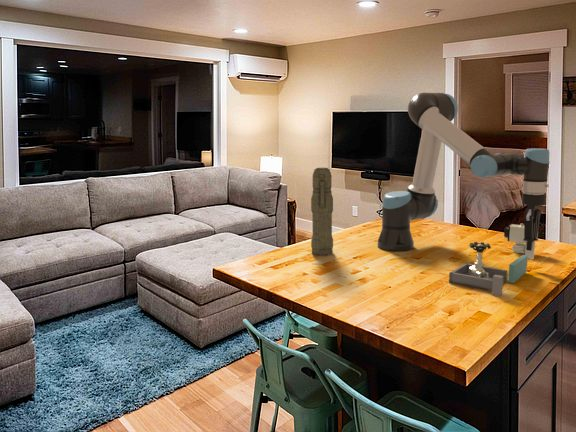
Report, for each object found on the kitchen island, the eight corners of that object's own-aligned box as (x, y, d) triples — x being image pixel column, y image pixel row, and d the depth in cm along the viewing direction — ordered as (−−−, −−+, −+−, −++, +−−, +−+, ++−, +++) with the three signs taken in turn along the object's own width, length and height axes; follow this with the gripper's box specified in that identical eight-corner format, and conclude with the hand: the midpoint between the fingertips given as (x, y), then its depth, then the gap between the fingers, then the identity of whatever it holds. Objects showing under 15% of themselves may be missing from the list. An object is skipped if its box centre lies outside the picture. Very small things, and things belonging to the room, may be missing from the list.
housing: (445, 285, 159) (446, 267, 158) (465, 272, 171) (465, 256, 170) (499, 296, 148) (501, 277, 147) (516, 282, 160) (518, 264, 159)
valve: (473, 283, 158) (475, 247, 156) (463, 276, 165) (465, 242, 162) (492, 281, 159) (494, 246, 157) (482, 275, 165) (484, 241, 163)
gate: (508, 282, 160) (509, 264, 159) (521, 271, 171) (522, 254, 170) (513, 283, 159) (514, 265, 158) (526, 272, 170) (527, 255, 169)
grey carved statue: (313, 257, 195) (312, 169, 188) (309, 249, 206) (309, 167, 200) (335, 256, 195) (335, 169, 189) (330, 248, 207) (330, 166, 200)
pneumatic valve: (534, 255, 191) (537, 226, 189) (502, 251, 198) (504, 223, 196) (536, 252, 196) (539, 223, 193) (505, 248, 202) (507, 220, 200)
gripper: (541, 196, 162) (535, 264, 167) (550, 191, 172) (545, 256, 176) (517, 194, 167) (512, 260, 171) (528, 190, 177) (523, 253, 181)
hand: (529, 258), depth 174 cm, fingers closed
